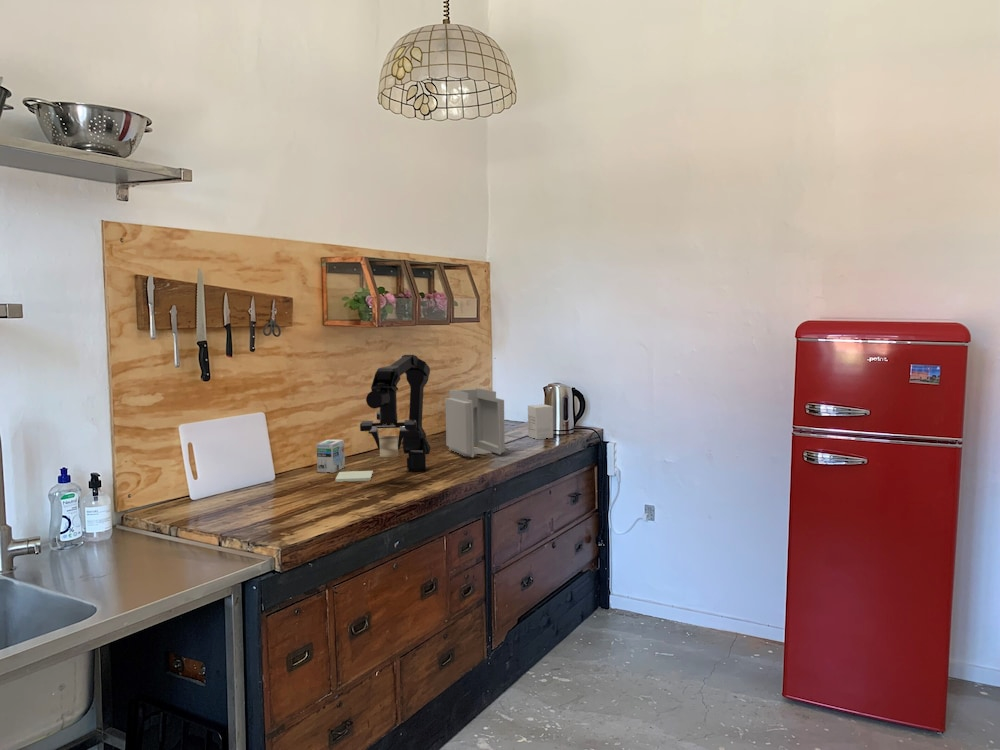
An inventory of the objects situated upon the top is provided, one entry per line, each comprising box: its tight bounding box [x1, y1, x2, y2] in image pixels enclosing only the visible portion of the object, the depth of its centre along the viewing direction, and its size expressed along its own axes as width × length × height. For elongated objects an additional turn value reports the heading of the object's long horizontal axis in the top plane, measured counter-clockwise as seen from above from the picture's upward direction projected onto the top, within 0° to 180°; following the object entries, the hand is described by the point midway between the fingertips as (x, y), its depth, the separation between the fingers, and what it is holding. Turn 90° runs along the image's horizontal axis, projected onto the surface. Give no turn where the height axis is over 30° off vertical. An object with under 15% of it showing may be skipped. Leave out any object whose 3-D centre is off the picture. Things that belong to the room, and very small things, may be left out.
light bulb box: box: [316, 438, 346, 474], centre depth 274 cm, size 11×7×11 cm, turn 168°
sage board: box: [334, 470, 374, 483], centre depth 261 cm, size 12×12×1 cm
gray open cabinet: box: [444, 387, 506, 458], centre depth 304 cm, size 17×27×26 cm, turn 26°
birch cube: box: [379, 435, 400, 458], centre depth 250 cm, size 6×6×6 cm
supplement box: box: [527, 404, 554, 440], centre depth 340 cm, size 9×9×15 cm
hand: (389, 450), depth 250 cm, fingers closed on birch cube, 6 cm apart
